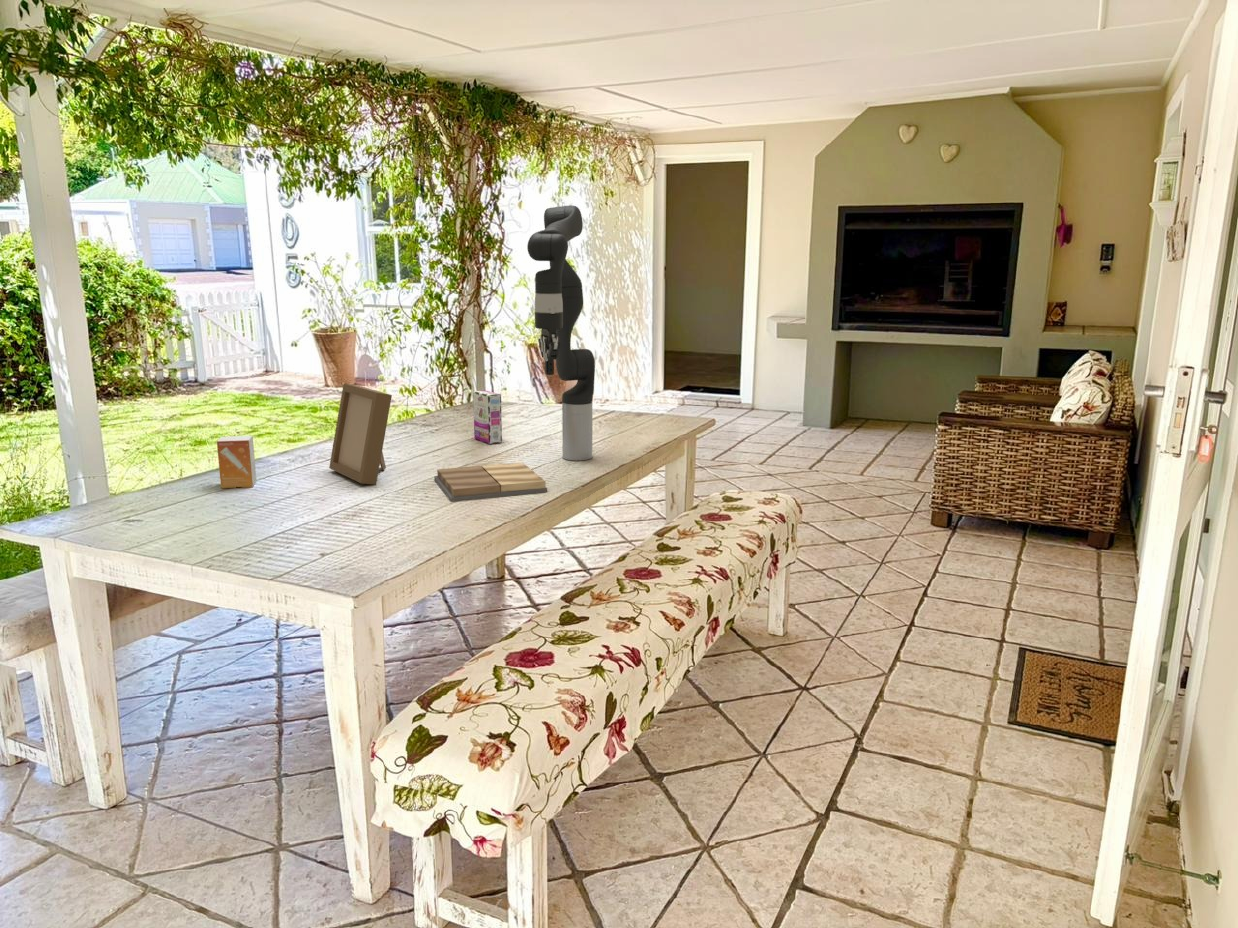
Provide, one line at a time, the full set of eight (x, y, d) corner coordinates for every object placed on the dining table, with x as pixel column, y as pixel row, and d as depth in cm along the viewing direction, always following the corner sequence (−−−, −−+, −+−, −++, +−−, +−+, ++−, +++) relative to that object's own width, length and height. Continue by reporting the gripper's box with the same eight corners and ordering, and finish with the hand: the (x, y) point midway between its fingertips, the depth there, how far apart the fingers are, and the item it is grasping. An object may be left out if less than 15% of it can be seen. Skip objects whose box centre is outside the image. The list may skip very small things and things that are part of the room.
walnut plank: (437, 476, 240) (437, 469, 240) (480, 472, 245) (480, 465, 244) (453, 496, 220) (453, 489, 220) (499, 492, 225) (499, 484, 224)
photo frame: (361, 487, 232) (356, 394, 227) (329, 471, 249) (324, 384, 243) (412, 479, 242) (408, 389, 236) (378, 464, 258) (374, 380, 252)
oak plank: (481, 472, 245) (481, 465, 244) (522, 469, 249) (522, 462, 249) (501, 491, 225) (501, 484, 224) (545, 488, 229) (545, 481, 229)
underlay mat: (434, 479, 241) (434, 476, 240) (523, 471, 250) (523, 468, 250) (451, 501, 220) (450, 497, 220) (547, 492, 229) (547, 488, 229)
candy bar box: (503, 443, 287) (501, 394, 283) (489, 444, 284) (488, 395, 280) (486, 437, 296) (485, 389, 292) (473, 439, 293) (472, 390, 289)
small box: (220, 489, 230) (215, 441, 227) (225, 483, 236) (220, 436, 233) (253, 487, 232) (249, 439, 229) (257, 481, 238) (252, 434, 235)
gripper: (528, 309, 238) (529, 372, 242) (542, 312, 226) (543, 378, 230) (554, 308, 241) (555, 371, 245) (569, 311, 229) (570, 377, 233)
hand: (549, 374), depth 237 cm, fingers closed
